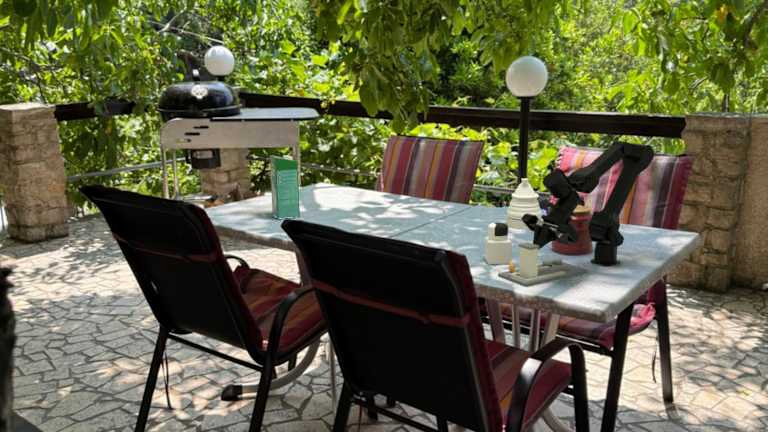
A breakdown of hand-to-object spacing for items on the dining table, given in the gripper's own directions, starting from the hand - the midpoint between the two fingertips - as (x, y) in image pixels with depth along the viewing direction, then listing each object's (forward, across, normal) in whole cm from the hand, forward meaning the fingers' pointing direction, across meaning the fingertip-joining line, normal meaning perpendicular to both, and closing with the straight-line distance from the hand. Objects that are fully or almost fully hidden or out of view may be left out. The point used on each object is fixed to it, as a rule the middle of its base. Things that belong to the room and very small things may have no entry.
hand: (533, 251), depth 208 cm
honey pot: (-24, +51, -36) cm, 67 cm away
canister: (-17, +16, -29) cm, 37 cm away
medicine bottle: (+3, +20, -9) cm, 22 cm away
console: (+2, +2, -10) cm, 11 cm away
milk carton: (+23, +117, +11) cm, 120 cm away
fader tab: (+7, 0, -5) cm, 9 cm away
